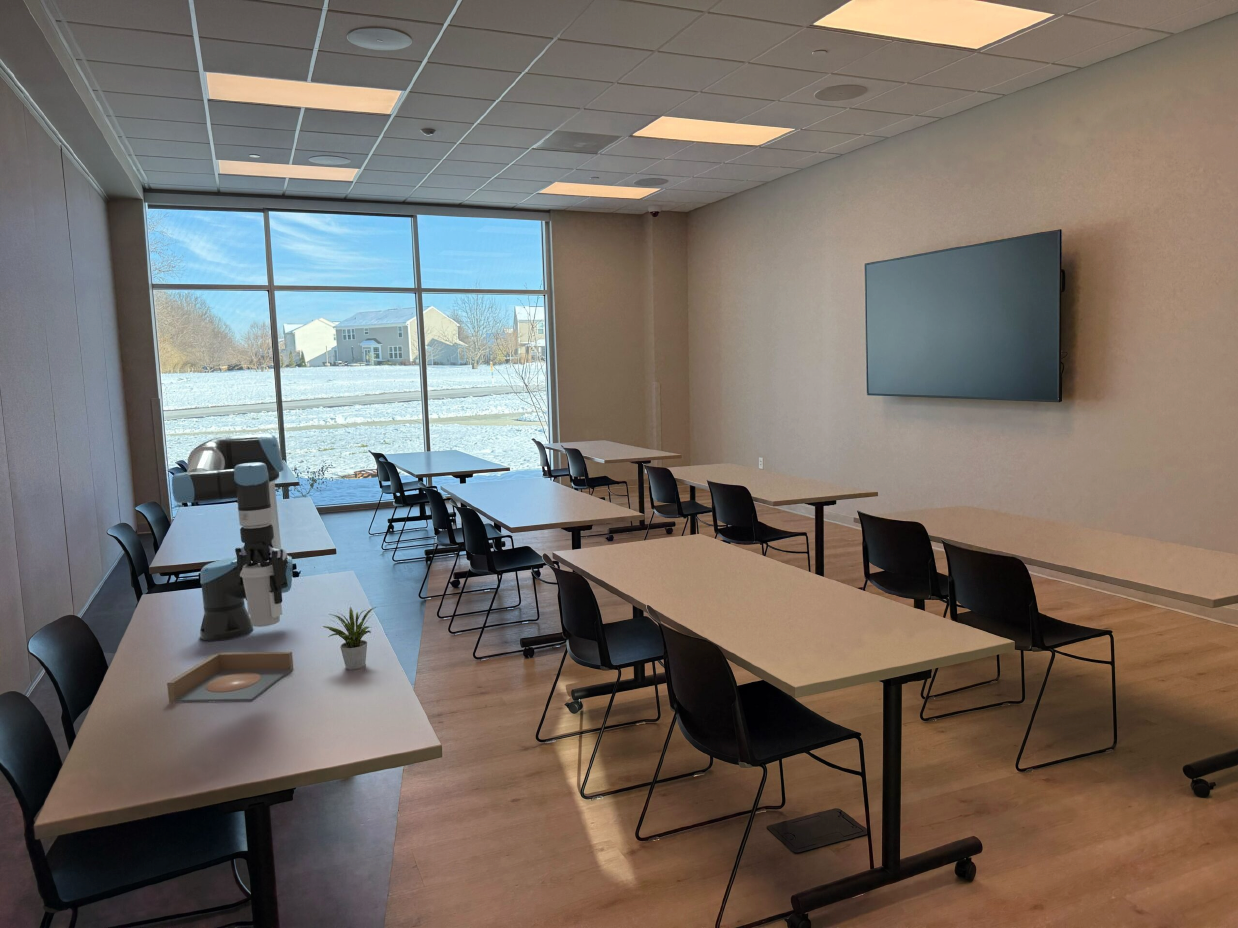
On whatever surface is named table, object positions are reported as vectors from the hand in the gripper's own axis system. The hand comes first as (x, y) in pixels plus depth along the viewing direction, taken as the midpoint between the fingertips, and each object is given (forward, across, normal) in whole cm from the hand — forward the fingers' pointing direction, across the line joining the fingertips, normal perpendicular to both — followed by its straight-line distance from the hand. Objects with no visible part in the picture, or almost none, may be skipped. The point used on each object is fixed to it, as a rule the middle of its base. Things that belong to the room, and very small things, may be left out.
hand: (265, 614), depth 205 cm
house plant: (+21, +8, +22) cm, 31 cm away
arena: (+20, -14, 0) cm, 24 cm away
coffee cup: (+2, 0, 0) cm, 2 cm away
